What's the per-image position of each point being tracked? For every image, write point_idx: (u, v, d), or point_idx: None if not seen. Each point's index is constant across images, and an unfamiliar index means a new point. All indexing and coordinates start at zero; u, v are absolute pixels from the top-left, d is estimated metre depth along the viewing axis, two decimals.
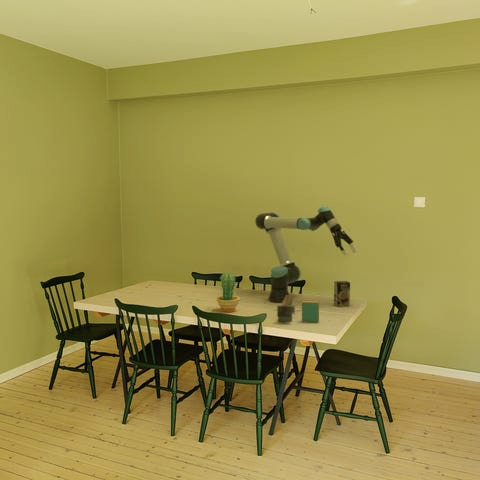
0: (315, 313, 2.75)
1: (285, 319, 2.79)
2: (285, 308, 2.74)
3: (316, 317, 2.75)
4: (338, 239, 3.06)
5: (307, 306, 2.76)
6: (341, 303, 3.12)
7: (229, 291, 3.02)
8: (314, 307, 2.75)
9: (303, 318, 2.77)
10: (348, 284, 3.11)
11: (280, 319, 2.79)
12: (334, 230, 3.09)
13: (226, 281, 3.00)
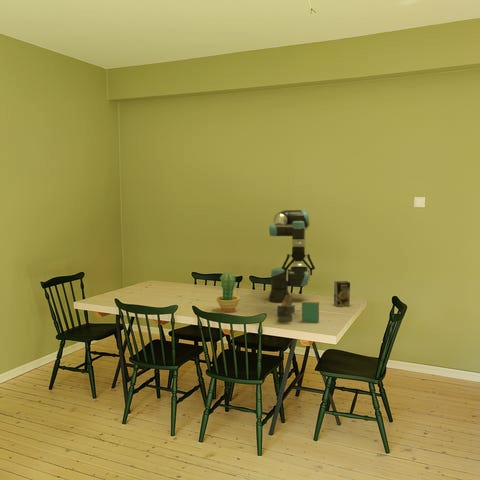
0: (315, 313, 2.75)
1: (285, 319, 2.79)
2: (285, 308, 2.74)
3: (316, 317, 2.75)
4: None
5: (307, 306, 2.76)
6: (341, 303, 3.12)
7: (229, 291, 3.02)
8: (314, 307, 2.75)
9: (303, 318, 2.77)
10: (348, 284, 3.11)
11: (280, 319, 2.79)
12: (292, 251, 2.87)
13: (226, 281, 3.00)
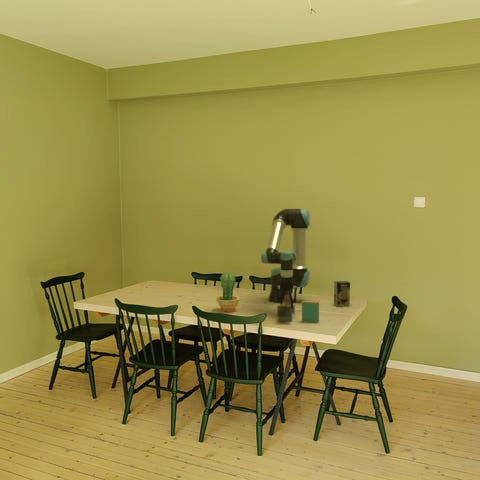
0: (315, 313, 2.75)
1: (285, 319, 2.79)
2: (285, 308, 2.74)
3: (316, 317, 2.75)
4: (282, 294, 2.89)
5: (307, 306, 2.76)
6: (341, 303, 3.12)
7: (229, 291, 3.02)
8: (314, 307, 2.75)
9: (303, 318, 2.77)
10: (348, 284, 3.11)
11: (280, 319, 2.79)
12: (280, 281, 2.88)
13: (226, 281, 3.00)
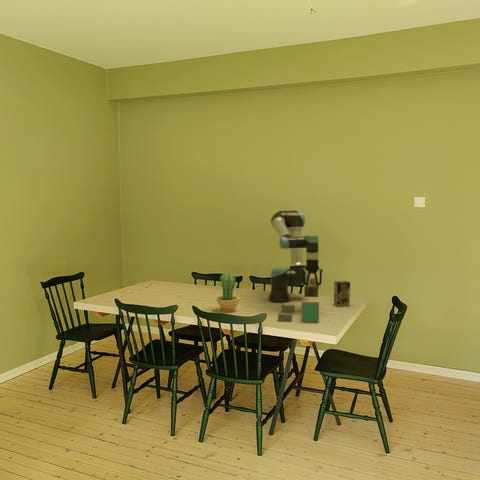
0: (315, 313, 2.75)
1: (285, 319, 2.79)
2: (312, 288, 2.81)
3: (316, 317, 2.75)
4: (307, 276, 2.97)
5: (307, 306, 2.76)
6: (341, 303, 3.12)
7: (229, 291, 3.02)
8: (314, 307, 2.75)
9: (303, 318, 2.77)
10: (348, 284, 3.11)
11: (280, 319, 2.79)
12: (306, 264, 2.96)
13: (226, 281, 3.00)
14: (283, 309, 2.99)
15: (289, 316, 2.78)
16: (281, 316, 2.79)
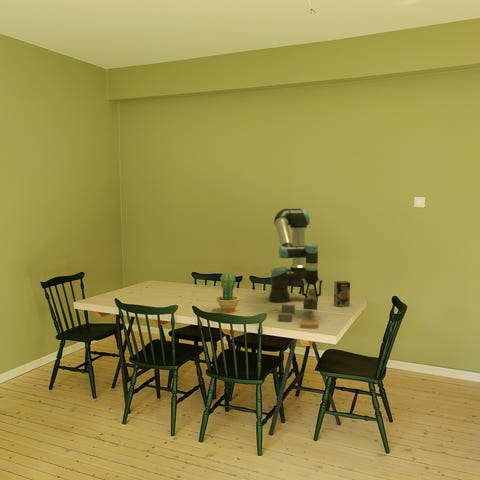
0: None
1: (285, 319, 2.79)
2: (311, 301, 2.73)
3: None
4: None
5: None
6: (341, 303, 3.12)
7: (229, 291, 3.02)
8: None
9: None
10: (348, 284, 3.11)
11: (280, 319, 2.79)
12: (305, 274, 2.88)
13: (226, 281, 3.00)
14: (283, 309, 2.99)
15: (289, 316, 2.78)
16: (281, 316, 2.79)
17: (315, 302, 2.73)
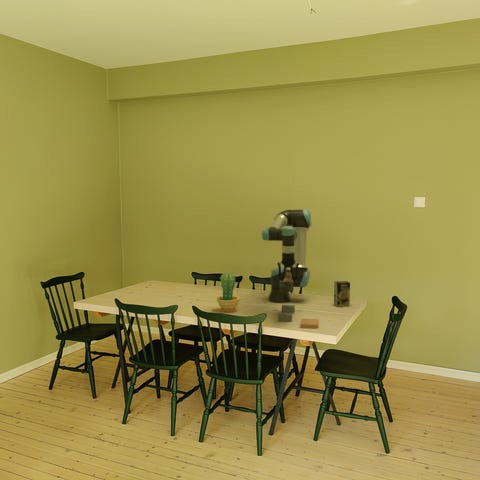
0: None
1: (285, 319, 2.79)
2: (287, 283, 2.72)
3: None
4: (283, 270, 2.88)
5: None
6: (341, 303, 3.12)
7: (229, 291, 3.02)
8: None
9: None
10: (348, 284, 3.11)
11: (280, 319, 2.79)
12: (282, 257, 2.87)
13: (226, 281, 3.00)
14: (283, 309, 2.99)
15: (289, 316, 2.78)
16: (281, 316, 2.79)
17: (291, 284, 2.72)
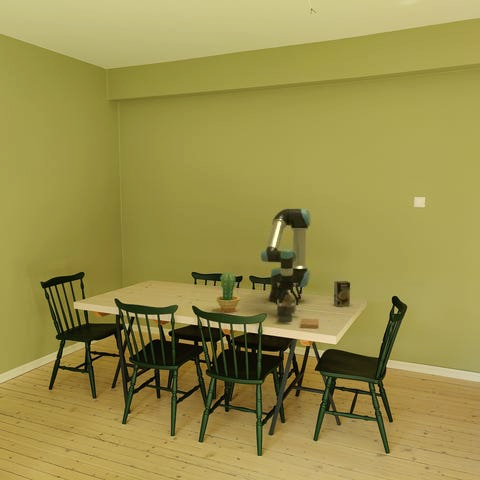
0: None
1: (285, 319, 2.79)
2: (285, 308, 2.74)
3: None
4: (279, 291, 2.89)
5: None
6: (341, 303, 3.12)
7: (229, 291, 3.02)
8: None
9: None
10: (348, 284, 3.11)
11: (280, 319, 2.79)
12: (280, 280, 2.88)
13: (226, 281, 3.00)
14: None
15: None
16: None
17: (289, 309, 2.73)
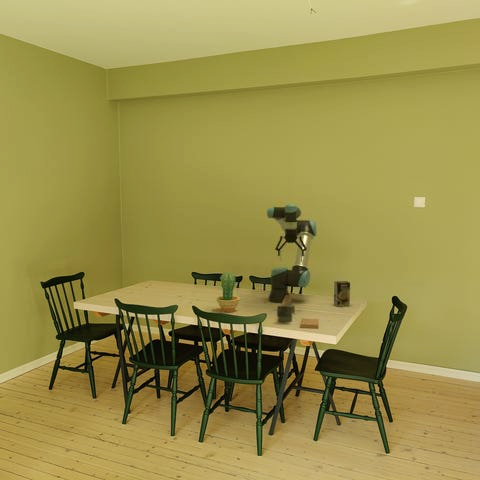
0: None
1: (285, 319, 2.79)
2: (285, 308, 2.74)
3: None
4: None
5: None
6: (341, 303, 3.12)
7: (229, 291, 3.02)
8: None
9: None
10: (348, 284, 3.11)
11: (280, 319, 2.79)
12: (285, 233, 3.03)
13: (226, 281, 3.00)
14: None
15: None
16: None
17: (289, 309, 2.73)
